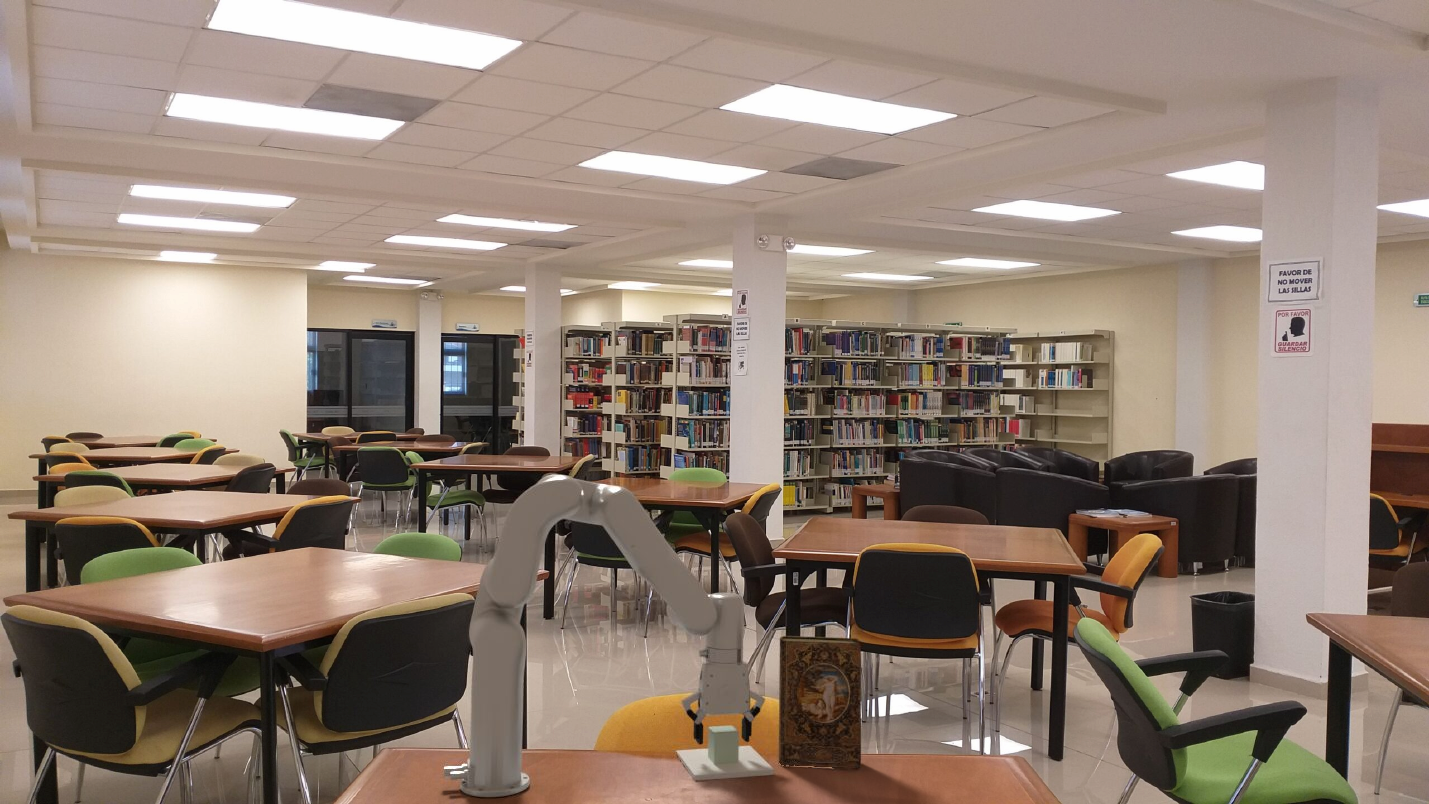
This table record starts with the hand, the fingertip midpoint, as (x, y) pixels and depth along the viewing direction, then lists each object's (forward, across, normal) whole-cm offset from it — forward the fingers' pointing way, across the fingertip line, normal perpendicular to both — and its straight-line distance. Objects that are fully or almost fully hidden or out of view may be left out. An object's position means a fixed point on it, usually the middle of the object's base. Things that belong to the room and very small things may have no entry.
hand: (722, 741), depth 195 cm
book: (+5, +19, -4) cm, 20 cm away
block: (+4, 0, 0) cm, 4 cm away
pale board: (+5, 0, 0) cm, 5 cm away
